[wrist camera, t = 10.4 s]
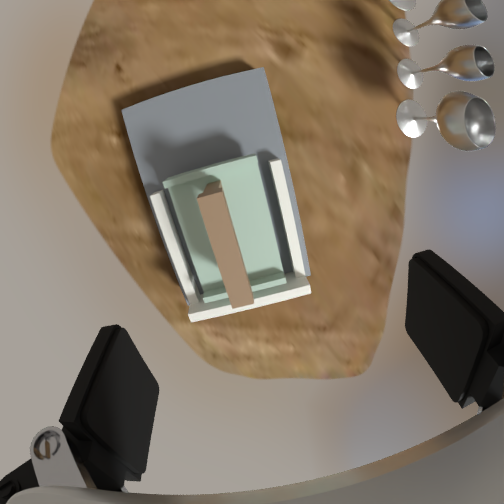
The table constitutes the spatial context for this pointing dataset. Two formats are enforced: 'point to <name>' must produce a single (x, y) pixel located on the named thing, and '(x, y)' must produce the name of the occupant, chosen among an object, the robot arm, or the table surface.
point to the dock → (210, 152)
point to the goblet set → (456, 65)
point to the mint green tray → (228, 229)
